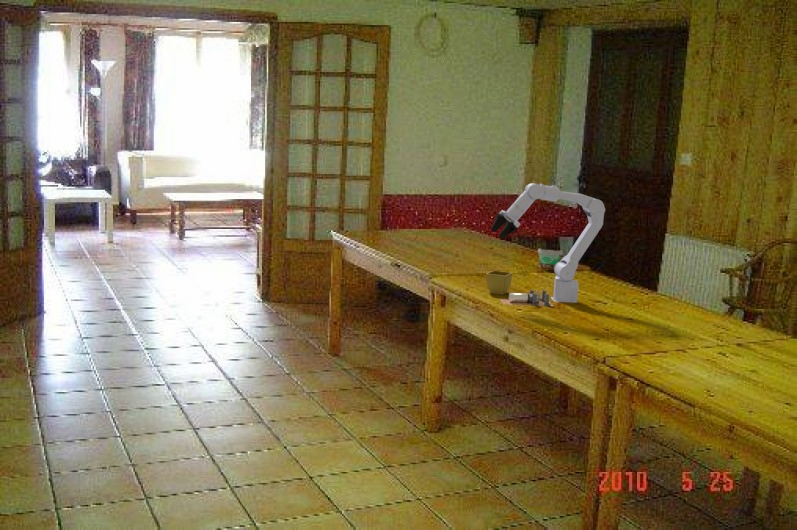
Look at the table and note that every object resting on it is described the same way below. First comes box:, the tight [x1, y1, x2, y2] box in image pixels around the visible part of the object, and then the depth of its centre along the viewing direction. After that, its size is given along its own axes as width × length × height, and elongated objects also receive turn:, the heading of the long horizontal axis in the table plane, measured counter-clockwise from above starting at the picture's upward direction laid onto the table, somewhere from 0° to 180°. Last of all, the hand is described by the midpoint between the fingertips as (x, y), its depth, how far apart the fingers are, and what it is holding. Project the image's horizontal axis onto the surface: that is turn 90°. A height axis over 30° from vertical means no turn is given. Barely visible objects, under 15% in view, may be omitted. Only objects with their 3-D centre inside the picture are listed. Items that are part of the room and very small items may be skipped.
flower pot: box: [485, 270, 514, 296], centre depth 345 cm, size 9×9×9 cm
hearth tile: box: [499, 298, 554, 307], centre depth 330 cm, size 20×10×1 cm, turn 91°
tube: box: [508, 292, 541, 303], centre depth 329 cm, size 12×4×4 cm, turn 91°
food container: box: [537, 248, 564, 270], centre depth 402 cm, size 12×6×10 cm, turn 73°
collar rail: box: [528, 289, 552, 307], centre depth 330 cm, size 7×10×4 cm
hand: (496, 234), depth 330 cm, fingers open, 7 cm apart
